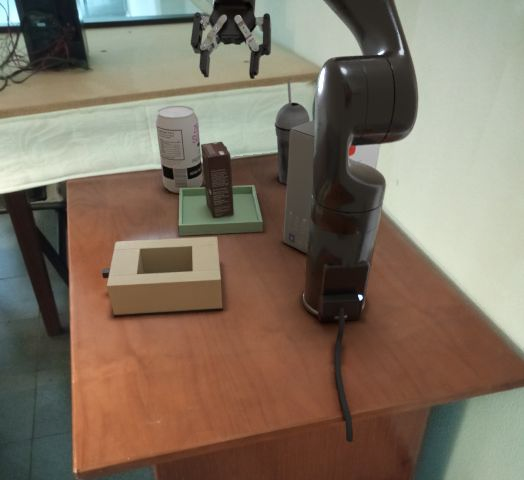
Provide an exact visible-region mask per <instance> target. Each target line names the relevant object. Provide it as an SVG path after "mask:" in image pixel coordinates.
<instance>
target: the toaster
mask: <svg viewBox="0 0 524 480" xmlns="http://www.w3.org/2000/svg"><path fill="white" fill-rule="evenodd" d="M219 254H220V253H219V243H218V236H203V237H201V236H200V237H181V238H163V239H160V238H159V239H142V240H123V241H115V243H114V248H113V253H112V258H111V263H110V267H109V268H102V272H101V274H102V278H103V279H107V283H106V288H107V293H108V296H109V297H108V298H109V301H110V304H111V309H112V316H113V317H114V318H117V317H131V316H132V317H133V316H147V315H148V316H149V315H163V314H165V315H166V314H179V313H193V312H194V313H195V312H196V313H197V312H209V311H210V312H211V311H223V310H224V304H223V303H224V301H223V290H222V278H221V277H222V276H221V266H220V255H219Z"/></svg>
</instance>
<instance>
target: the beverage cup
mask: <svg viewBox="0 0 524 480" xmlns="http://www.w3.org/2000/svg"><path fill="white" fill-rule="evenodd" d="M286 81H287V97H288V103H286V104H284V105H283V106H281V108H280V109H278V112H277V114H276V116H275V122H274V127H275V136H276V145H277V164H278V165H277V166H278V175H279V177H278V178H279V182H280V183H281V184H283V185H284V184H285V185H287V176H288V159H289V139H290V130H291V128H293V127H296V126H298V125H301V124H304V123H307V122H309V121H311V120H310V115H309V112H308V110H307V109H306V108H305V107H304V106H303V105H302V104H300V103H298V102H292V91H291V78H290V77H287V78H286Z"/></svg>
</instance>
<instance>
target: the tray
mask: <svg viewBox="0 0 524 480" xmlns="http://www.w3.org/2000/svg"><path fill="white" fill-rule="evenodd" d="M232 190H233V207H234V215H232V216H227V217H219V218H213V216H212V214H211V212H210V210H209V208H208V206H207V202H206V193H205V186H200V187H198V188H180V190H179V193H178V194H179V196H178V197H179V198H178V231H179V232H178V233H179V236H180V237H181V236H202V235H203V236H205V235H221V234H241V233H263V231H264V230H263V229H264V227H263V226H264V222H263V221H264V220H263V216H262V212H261V208H260V204H259V200H258V194H257V190H256V186H255V185H254V184H251V185H247V184H246V185H232Z"/></svg>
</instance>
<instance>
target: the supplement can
mask: <svg viewBox="0 0 524 480" xmlns="http://www.w3.org/2000/svg"><path fill="white" fill-rule="evenodd" d="M154 122H155V130H156V137H157V144H158V151H159V160H160V167H161V174H162V175H161V176H162V182H163V186H164V188H166V189H167V190H168V191H169V192H171V193H174V194H179V190H180V188H198V187H202V185H203V183H204V177H203V164H202V151H201V141H200V127H199V119H198V116H197V115H196V112H195V109H194V108H192V107H190V106H186V105H171V106H170V105H169V106H165V107H161V108H159V109H158V110H157V114H156V117H155V119H154Z"/></svg>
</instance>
